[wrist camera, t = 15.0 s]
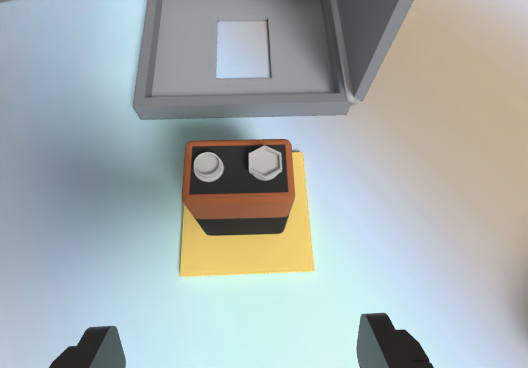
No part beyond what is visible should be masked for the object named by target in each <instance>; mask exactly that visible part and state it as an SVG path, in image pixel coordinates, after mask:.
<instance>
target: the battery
mask: <svg viewBox="0 0 528 368" xmlns="http://www.w3.org/2000/svg"><path fill="white" fill-rule="evenodd" d="M294 200H295V185H294V172H293V158H292V146H291V143H290V142H289V141H288V140H286V139H262V140H209V141H191V142H188V143H187V145H186V148H185V161H184V175H183V189H182V201H183V203H184V204H185V206H186V207H187V208H188V210H189V211H190V213H191V214H192V215H193V217H194V218H195V220H196V221H197V222H198V224H199V225H200V227H201V228H202V230H203V231H204V232H205V233H206V234H207V235H209V236H225V235H262V234H281V233H282V232H283V231H284V229H285V226H286V223H287V220H288V217H289V214H290V211H291V208H292V206H293V203H294Z"/></svg>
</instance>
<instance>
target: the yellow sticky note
mask: <svg viewBox="0 0 528 368" xmlns="http://www.w3.org/2000/svg"><path fill="white" fill-rule="evenodd" d="M292 158H293V172H294V185H295V200H294V203H293V206H292V208H291V211H290V214H289V217H288V220H287V223H286V226H285V229H284V231H283V232H282V233H281V234H262V235H225V236H209V235H207V234H206V233H205V232H204V231H203V230H202V228H201V227H200V225H199V224H198V222H197V221H196V220H195V218H194V217H193V215H192V214H191V213H190V211H189V210H188V208H187V207H186V206H185V204H184V214H183V231H182V248H181V265H180V276H181V277H190V276H215V275H240V274H265V273H291V272H313V271H314V262H313V251H312V241H311V231H310V221H309V210H308V200H307V190H306V180H305V170H304V159H303V152H292Z"/></svg>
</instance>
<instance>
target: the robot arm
mask: <svg viewBox="0 0 528 368" xmlns="http://www.w3.org/2000/svg"><path fill="white" fill-rule="evenodd" d="M357 358H358V363H359V366H360V368H434V367H433V365H432V364H431V363H430V362H429V359H428V357H427V355H426V354H425V352H424V350H423V348H422V347H421V345H420V343H419V342H418V341H417V340H415V339H414V338H413V337H412V336H411V335H410V334H409V333H408V332H407V331H406V330H395V328H394V326H393V324H392V322H391V320H390V318H389V317H388V315H387V314H386V313H371V314H362V315H361V318H360V325H359V332H358V340H357ZM125 367H126V360H125V355H124V352H123V348H122V345H121V341H120V338H119V334H118V330H117V328H116V327H115V326H102V327H90V328H88V329H87V330H86V331H85V333H84V334H83V336H82V338H81V340H80V341H79V343H78V345H77V346H70V347H68V348H67V349H66V350H65V351H64V352H63V353H62V354H61V355H60V356H58V357H57V358H56V359H55V360H54V361H53V362H52V364H51V365H50V367H49V368H125Z"/></svg>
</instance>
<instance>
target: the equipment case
mask: <svg viewBox="0 0 528 368" xmlns="http://www.w3.org/2000/svg"><path fill="white" fill-rule="evenodd" d="M413 1H414V0H148V2H147V9H146V16H145V23H144V30H143V37H142V44H141V51H140V58H139V65H138V72H137V79H136V86H135V93H134V101H133V108H134V109H135V111H136V113H137V114H138V116H139V117H140V119H141V120H147V119H189V118H232V117H274V116H316V115H346V114H347V112H348V110H349V108H350V106H351V105H356V104H358V103H359V102H360V101H363V100H364V98H365V96H366V94H367V92H368V90H369V88H370V86H371V84H372V82H373V80H374V78H375V76H376V74H377V72H378V70H379V68H380V66H381V64H382V62H383V60H384V58H385V56H386V54H387V52H388V50H389V48H390V46H391V44H392V42H393V40H394V38H395V36H396V34H397V33H398V31H399V29H400V27H401V25H402V23H403V21H404V19H405V17H406V15H407V13H408V11H409V9H410V7H411V5H412V3H413ZM260 20H268V28H269V44H270V60H271V77H272V78H249V79H216V61H217V21H260Z"/></svg>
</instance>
